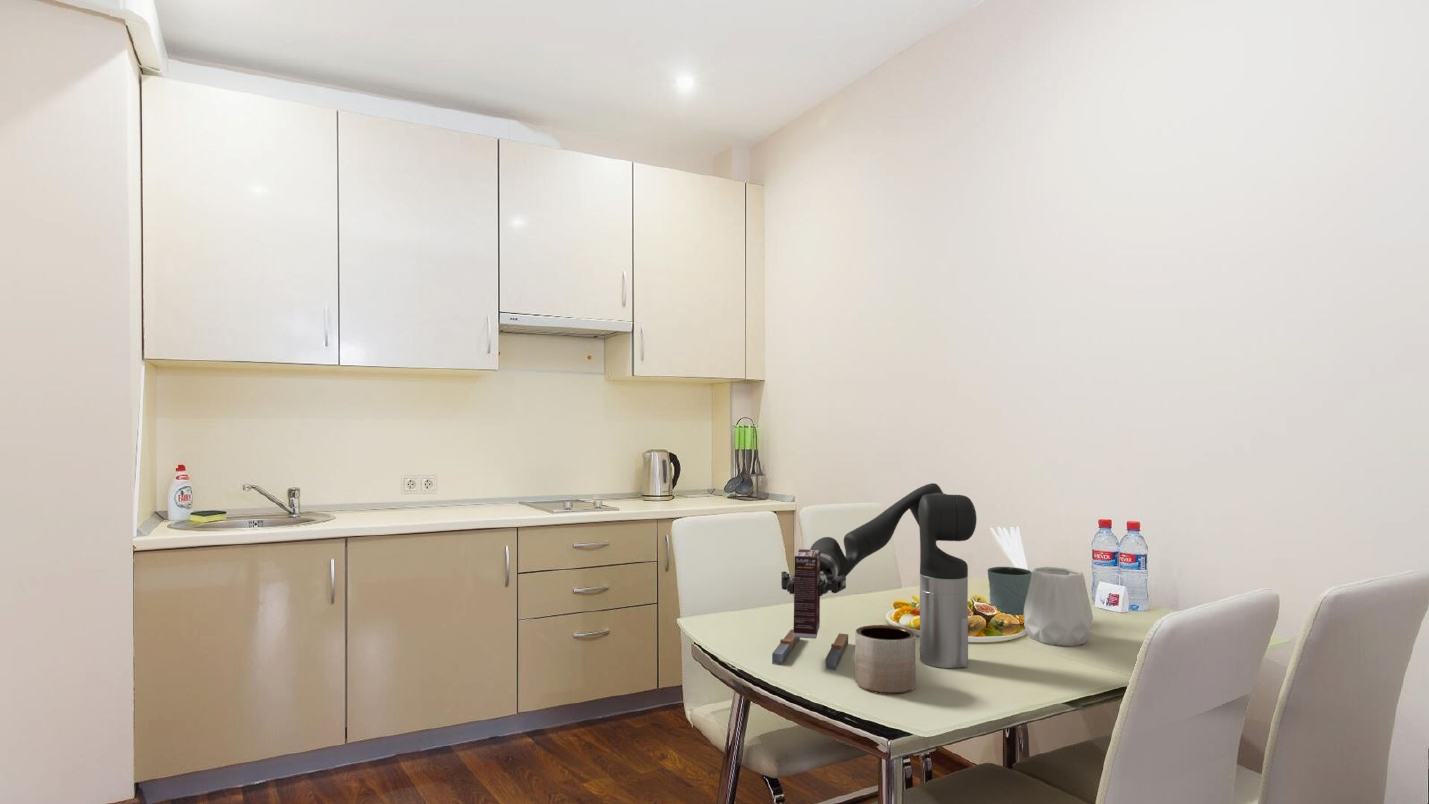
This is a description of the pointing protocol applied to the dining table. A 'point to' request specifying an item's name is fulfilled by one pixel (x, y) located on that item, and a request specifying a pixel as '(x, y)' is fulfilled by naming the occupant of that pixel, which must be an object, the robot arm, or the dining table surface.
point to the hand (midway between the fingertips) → (805, 589)
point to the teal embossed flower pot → (1009, 589)
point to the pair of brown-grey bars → (790, 642)
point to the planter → (885, 659)
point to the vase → (1058, 607)
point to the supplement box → (806, 593)
